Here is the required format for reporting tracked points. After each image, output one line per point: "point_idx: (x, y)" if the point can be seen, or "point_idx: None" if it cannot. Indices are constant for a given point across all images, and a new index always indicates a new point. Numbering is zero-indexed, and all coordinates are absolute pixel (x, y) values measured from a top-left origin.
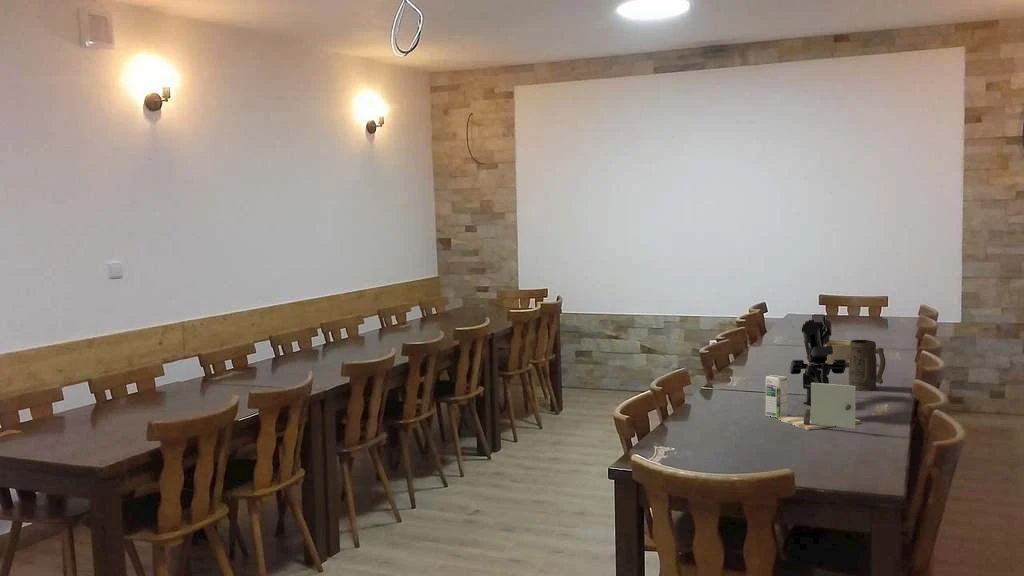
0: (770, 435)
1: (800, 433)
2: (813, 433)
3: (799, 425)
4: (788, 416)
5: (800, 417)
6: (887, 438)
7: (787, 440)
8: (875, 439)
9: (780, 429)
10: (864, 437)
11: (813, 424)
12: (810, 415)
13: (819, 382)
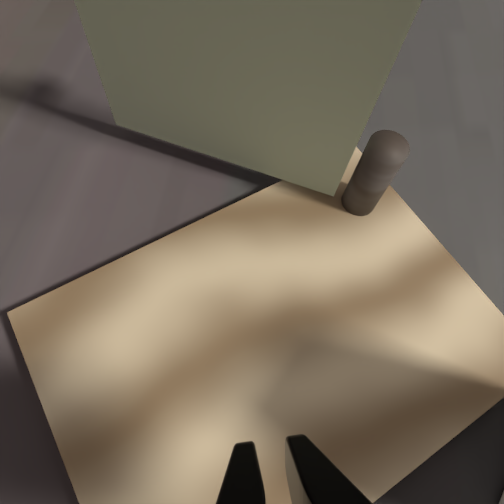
0: (497, 76)
1: (379, 106)
2: None
3: (393, 194)
4: (481, 387)
5: (400, 363)
6: (15, 54)
7: (422, 24)
8: (75, 41)
9: (474, 161)
10: None
11: (322, 195)
12: (332, 439)
13: (328, 468)
